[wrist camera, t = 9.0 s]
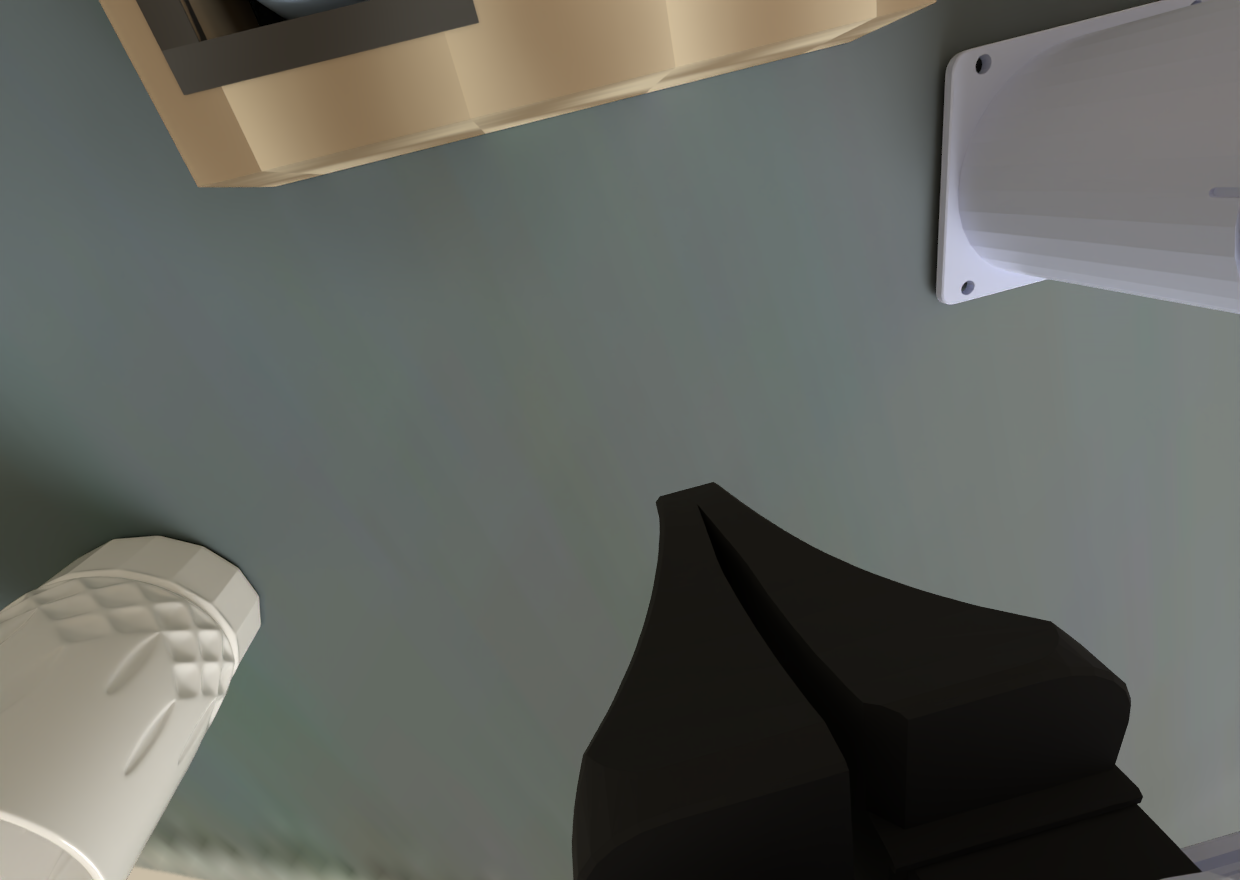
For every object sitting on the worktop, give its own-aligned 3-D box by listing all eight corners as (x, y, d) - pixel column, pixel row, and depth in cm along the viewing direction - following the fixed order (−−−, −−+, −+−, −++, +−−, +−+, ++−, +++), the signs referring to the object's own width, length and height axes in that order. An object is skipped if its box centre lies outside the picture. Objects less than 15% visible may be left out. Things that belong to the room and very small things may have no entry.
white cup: (8, 604, 21) (-399, 926, 12) (132, 481, 19) (-220, 738, 10) (202, 699, 24) (-1, 1007, 15) (320, 600, 22) (175, 874, 14)
